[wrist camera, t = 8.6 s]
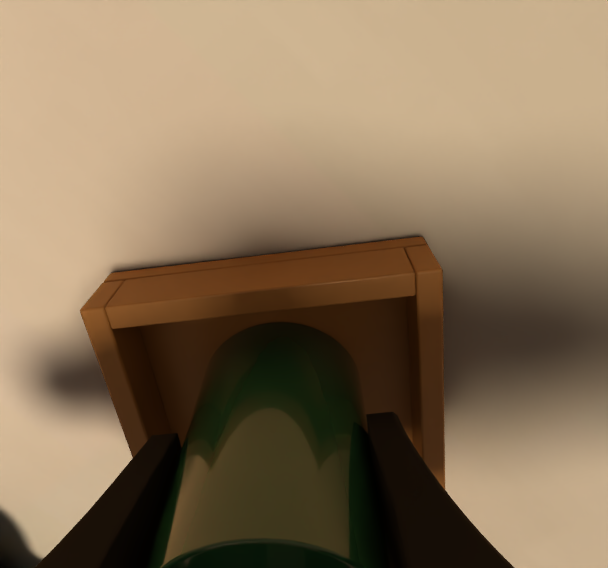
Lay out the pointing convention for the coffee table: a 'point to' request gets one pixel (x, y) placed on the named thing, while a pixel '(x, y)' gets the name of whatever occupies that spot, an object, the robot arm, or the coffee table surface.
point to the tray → (276, 308)
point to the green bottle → (275, 461)
